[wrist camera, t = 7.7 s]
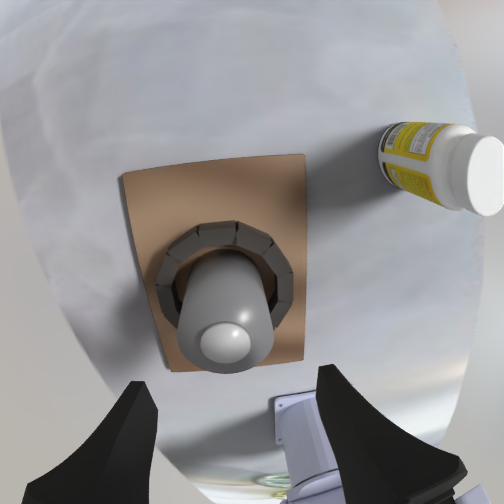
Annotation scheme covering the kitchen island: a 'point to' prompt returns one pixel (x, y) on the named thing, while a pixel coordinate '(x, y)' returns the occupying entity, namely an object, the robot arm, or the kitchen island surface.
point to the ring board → (223, 238)
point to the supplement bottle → (445, 165)
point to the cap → (225, 314)
